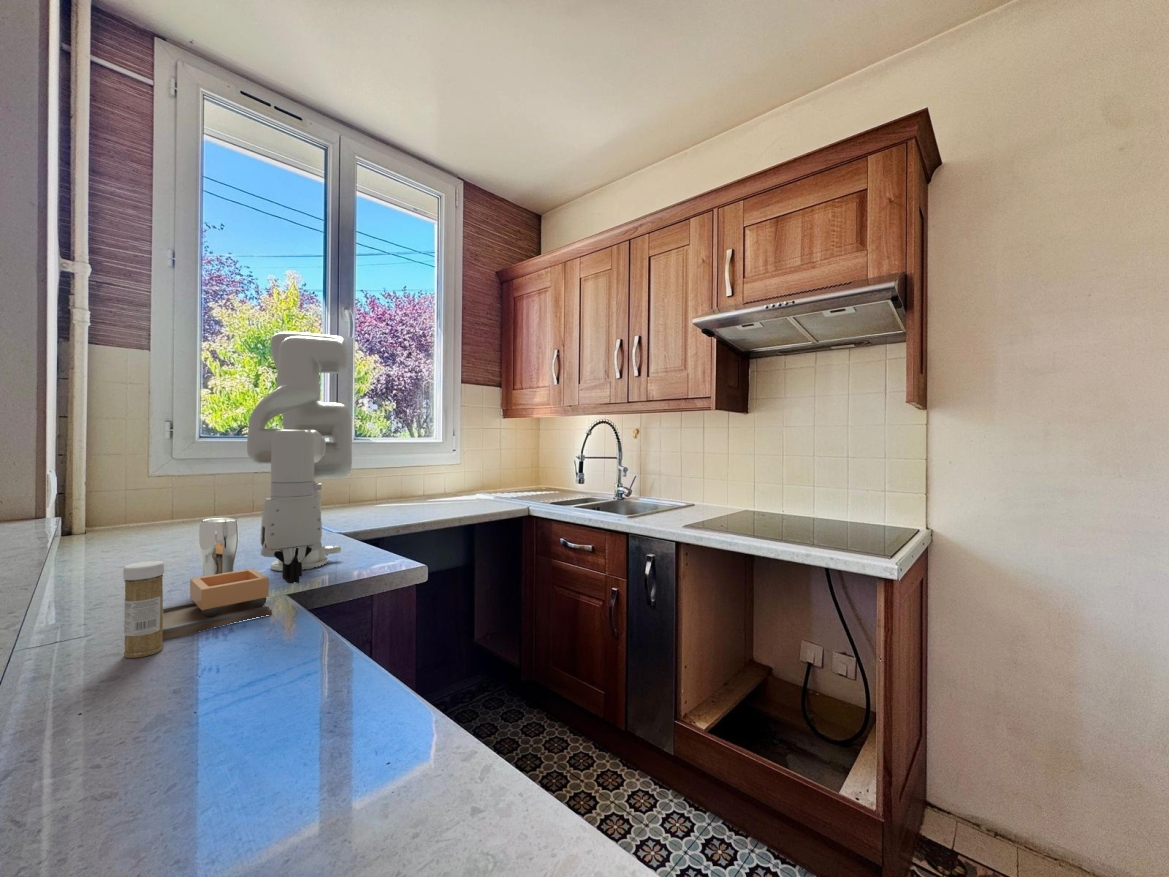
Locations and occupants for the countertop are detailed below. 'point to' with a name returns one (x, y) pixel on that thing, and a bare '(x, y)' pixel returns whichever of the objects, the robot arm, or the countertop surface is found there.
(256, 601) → the cart
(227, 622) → the track board
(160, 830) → the countertop surface
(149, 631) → the sprinkles bottle
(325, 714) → the countertop surface
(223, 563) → the beer glass
